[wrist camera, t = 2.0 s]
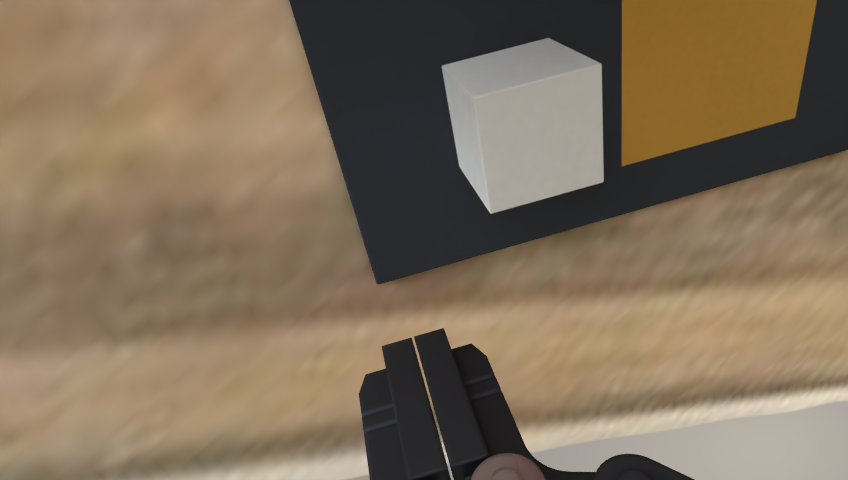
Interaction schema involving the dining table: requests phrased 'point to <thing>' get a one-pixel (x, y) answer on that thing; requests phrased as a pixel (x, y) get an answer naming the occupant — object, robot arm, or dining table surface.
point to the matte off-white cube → (527, 122)
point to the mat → (621, 101)
